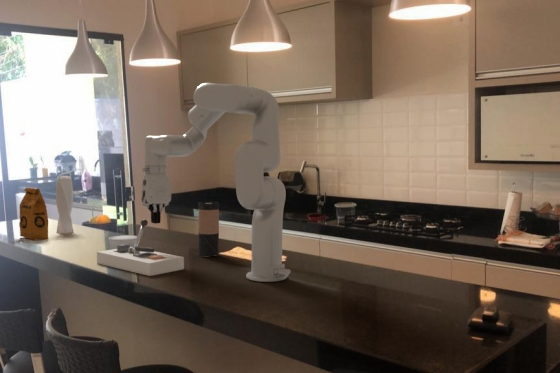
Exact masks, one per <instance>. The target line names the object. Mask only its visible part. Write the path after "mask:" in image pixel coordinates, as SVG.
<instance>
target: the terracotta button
mask: <svg viewBox="0 0 560 373" xmlns="http://www.w3.org/2000/svg"><path fill="white" fill-rule="evenodd" d="M150 259H152V260H159V259H163V255H151V256H150Z"/></svg>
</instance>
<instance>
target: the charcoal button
mask: <svg viewBox="0 0 560 373" xmlns="http://www.w3.org/2000/svg"><path fill="white" fill-rule="evenodd" d="M128 248H130V244H118V245H117V252H119V253H126V252H128Z"/></svg>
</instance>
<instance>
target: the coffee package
mask: <svg viewBox="0 0 560 373" xmlns="http://www.w3.org/2000/svg"><path fill="white" fill-rule="evenodd" d="M24 191H25V194H24V196H23V197H22V199H21V201H20V202H19V203H20V204H19V223H18V225H19V236H20V237H22V238H26V239H28V240H32V241H41V240H48V239H49V218H48V210H47V206H46V202H45V199H44V198H43V195H42V192H41V190H40V188H34V187H33V188H32V187H25V189H24Z"/></svg>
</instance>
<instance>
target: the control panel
mask: <svg viewBox="0 0 560 373" xmlns="http://www.w3.org/2000/svg"><path fill="white" fill-rule="evenodd" d="M131 248H133V247H130V248H128V252H126V253H119V252H117V249H113V250H111V249H108V250H107V249H105V250H100V251H96V264H99V265H103V266H106V267H111V268H115V269H118V270H119V269H120V270H123V271H124V270H125V271H128V272H132V273H136V274H140V275H144V276H147V277H151V276H157V275H161V274H167V273H171V272H177V271H182V270H184V269H185V257H184V256H179V255H175V254H169V253H164V252H159V251H155V250H154V252H140V251H135V250H136V249H134V253H132V252H131V251H130V250H131ZM151 255H163V259H159V260H152V259H150V256H151Z"/></svg>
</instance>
